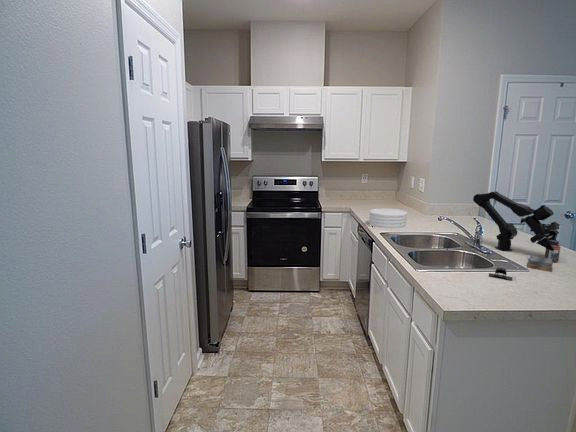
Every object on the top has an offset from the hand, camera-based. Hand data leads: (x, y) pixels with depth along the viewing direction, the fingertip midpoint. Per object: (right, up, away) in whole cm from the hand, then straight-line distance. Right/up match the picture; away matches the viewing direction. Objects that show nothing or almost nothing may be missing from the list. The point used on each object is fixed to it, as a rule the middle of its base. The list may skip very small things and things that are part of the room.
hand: (555, 249), depth 175 cm
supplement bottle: (-1, -6, +3) cm, 7 cm away
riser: (-14, -8, -7) cm, 17 cm away
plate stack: (-64, +10, +84) cm, 106 cm away
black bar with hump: (-42, -12, -19) cm, 48 cm away
